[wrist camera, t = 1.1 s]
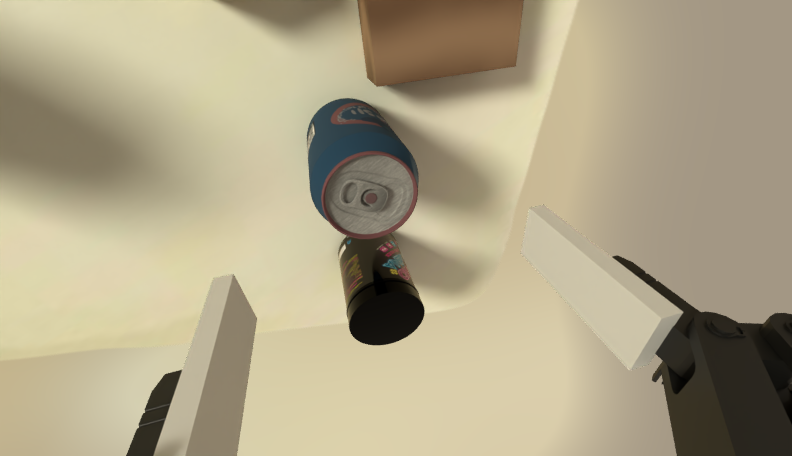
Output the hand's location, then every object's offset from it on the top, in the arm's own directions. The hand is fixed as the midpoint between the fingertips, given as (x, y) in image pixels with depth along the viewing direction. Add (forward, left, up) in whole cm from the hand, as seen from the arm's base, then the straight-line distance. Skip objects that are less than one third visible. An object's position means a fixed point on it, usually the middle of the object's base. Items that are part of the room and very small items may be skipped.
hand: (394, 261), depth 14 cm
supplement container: (+13, 0, -18) cm, 22 cm away
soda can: (0, 0, -18) cm, 18 cm away
